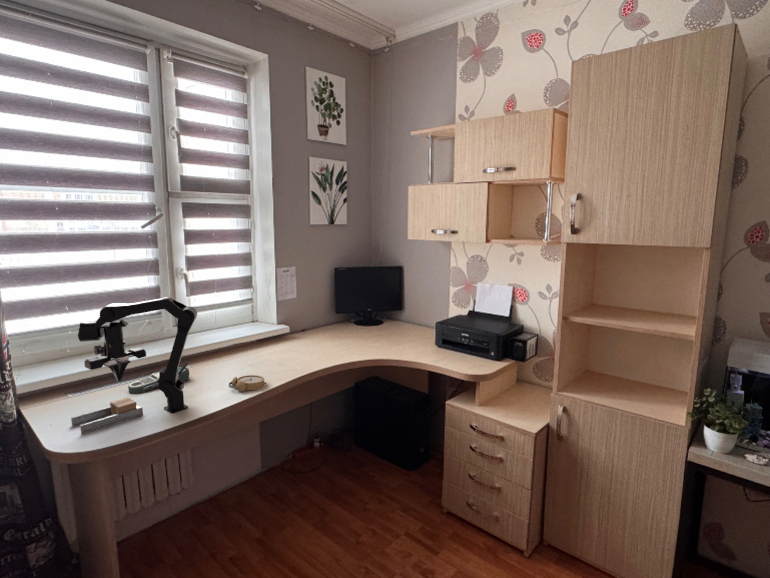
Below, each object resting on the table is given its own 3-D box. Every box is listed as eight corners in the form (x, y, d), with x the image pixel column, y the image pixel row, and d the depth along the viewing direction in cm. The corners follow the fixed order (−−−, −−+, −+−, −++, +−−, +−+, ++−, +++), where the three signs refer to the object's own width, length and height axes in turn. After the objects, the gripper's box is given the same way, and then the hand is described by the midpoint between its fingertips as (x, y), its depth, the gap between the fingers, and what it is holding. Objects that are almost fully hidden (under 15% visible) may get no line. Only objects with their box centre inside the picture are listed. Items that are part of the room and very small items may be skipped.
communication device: (123, 390, 192) (121, 370, 190) (179, 374, 209) (177, 356, 208) (134, 397, 184) (132, 376, 182) (191, 380, 202) (190, 361, 200)
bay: (143, 415, 166) (142, 407, 166) (82, 434, 151) (81, 425, 151) (131, 407, 173) (130, 400, 172) (71, 425, 158) (71, 417, 157)
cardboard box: (137, 415, 166) (136, 402, 165) (119, 420, 161) (117, 407, 161) (129, 409, 171) (128, 397, 170) (111, 415, 166) (109, 402, 165)
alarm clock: (269, 380, 194) (235, 382, 184) (267, 392, 194) (233, 394, 184) (258, 373, 202) (225, 375, 193) (257, 384, 202) (223, 386, 193)
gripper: (131, 330, 175) (135, 369, 178) (75, 341, 160) (81, 383, 163) (144, 334, 168) (149, 375, 171) (88, 346, 154) (93, 390, 156)
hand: (118, 380), depth 165 cm, fingers closed
